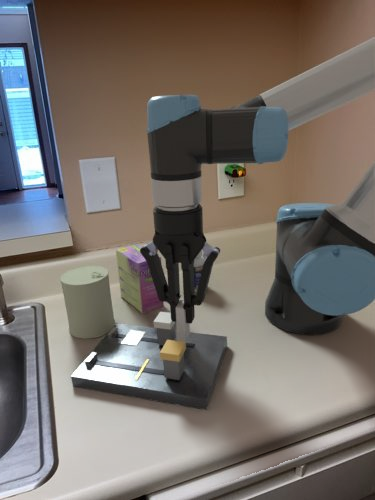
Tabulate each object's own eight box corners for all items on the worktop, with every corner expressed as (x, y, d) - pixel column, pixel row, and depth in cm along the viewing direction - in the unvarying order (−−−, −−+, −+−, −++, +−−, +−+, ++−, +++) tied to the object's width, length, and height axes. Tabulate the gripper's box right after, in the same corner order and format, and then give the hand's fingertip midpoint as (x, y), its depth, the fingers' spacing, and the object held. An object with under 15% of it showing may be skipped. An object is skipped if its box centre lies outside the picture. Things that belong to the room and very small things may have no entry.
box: (165, 305, 85) (161, 256, 81) (142, 314, 82) (137, 263, 78) (142, 289, 93) (137, 243, 89) (120, 296, 90) (115, 249, 86)
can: (104, 340, 73) (96, 283, 69) (60, 337, 75) (49, 281, 71) (121, 315, 82) (115, 263, 77) (81, 313, 83) (73, 262, 79)
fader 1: (177, 336, 69) (176, 313, 67) (171, 347, 66) (170, 323, 64) (162, 334, 70) (160, 311, 68) (155, 345, 67) (153, 321, 65)
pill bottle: (198, 294, 89) (197, 255, 86) (179, 289, 92) (177, 251, 88) (210, 285, 93) (209, 247, 90) (191, 280, 96) (189, 244, 93)
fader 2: (187, 367, 61) (185, 341, 59) (180, 381, 58) (179, 355, 56) (169, 365, 62) (167, 339, 60) (162, 378, 59) (159, 352, 57)
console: (227, 346, 70) (227, 331, 69) (206, 409, 55) (206, 393, 54) (117, 331, 76) (115, 318, 75) (72, 386, 61) (70, 370, 60)
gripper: (224, 200, 60) (224, 330, 68) (146, 197, 63) (156, 321, 72) (214, 212, 53) (216, 355, 62) (127, 209, 57) (140, 344, 65)
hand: (183, 337), depth 67 cm, fingers closed
